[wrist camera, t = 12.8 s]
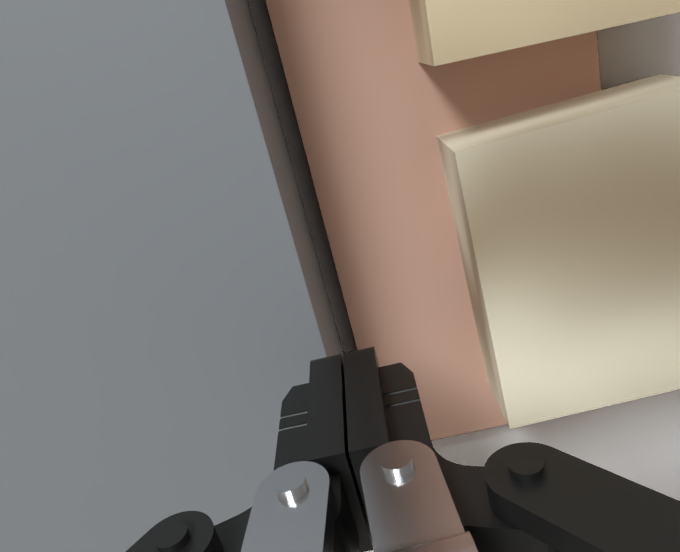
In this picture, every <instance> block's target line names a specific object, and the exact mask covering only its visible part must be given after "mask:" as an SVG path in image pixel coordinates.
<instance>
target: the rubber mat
mask: <svg viewBox="0 0 680 552" xmlns="http://www.w3.org/2000/svg"><path fill="white" fill-rule="evenodd" d="M266 4H267V8H268V12H269V16H270V19H271V23H272V27H273V31H274V35H275V38H276V42H277V46H278V50H279V54H280V57H281V61H282V65H283V69H284V73H285V76H286V80H287V84H288V88H289V92H290V95H291V99H292V103H293V107H294V111H295V114H296V118H297V122H298V126H299V130H300V133H301V137H302V141H303V145H304V149H305V152H306V156H307V160H308V164H309V168H310V171H311V175H312V179H313V183H314V187H315V191H316V194H317V198H318V202H319V206H320V210H321V213H322V217H323V221H324V225H325V229H326V232H327V236H328V240H329V244H330V248H331V251H332V255H333V259H334V263H335V267H336V270H337V274H338V278H339V282H340V286H341V289H342V293H343V297H344V301H345V305H346V308H347V312H348V316H349V320H350V324H351V327H352V331H353V335H354V339H355V343H356V346H357V350H360V349H364V348H369V347H373V346H374V348H375V351H376V355H377V359H378V363H379V367H382V366H387V365H391V364H396V363H400V362H401V363H402V364H404V365H405V366H406V367H407V368H408V369H410V370H411V371H412V372H413V374H414V377H415V381H416V385H417V389H418V393H419V397H420V401H421V404H422V408H423V412H424V416H425V420H426V424H427V427H428V431H429V435H430V439H431V440H436V439H441V438H446V437H450V436H455V435H460V434H465V433H469V432H474V431H479V430H484V429H488V428H493V427H498V426H502V425H507V422H506V420H505V417H504V415H503V413H502V411H501V409H500V407H499V405H498V403H497V400H496V398H495V396H494V394H493V392H492V390H491V388H490V386H489V383H488V381H487V376H486V372H485V367H484V362H483V357H482V353H481V348H480V343H479V338H478V334H477V329H476V324H475V319H474V314H473V310H472V305H471V300H470V295H469V291H468V286H467V281H466V276H465V272H464V267H463V262H462V257H461V252H460V248H459V243H458V238H457V233H456V229H455V224H454V219H453V214H452V210H451V205H450V200H449V195H448V190H447V186H446V181H445V176H444V171H443V167H442V162H441V157H440V152H439V147H438V143H437V138H436V136H438V135H442V134H446V133H449V132H453V131H456V130H460V129H464V128H467V127H471V126H474V125H478V124H482V123H485V122H489V121H492V120H496V119H500V118H503V117H507V116H510V115H514V114H518V113H521V112H525V111H528V110H532V109H536V108H539V107H543V106H546V105H550V104H554V103H557V102H561V101H564V100H568V99H572V98H575V97H579V96H582V95H586V94H590V93H593V92H597V91H600V90H601V82H600V69H599V55H598V42H597V31H593V32H588V33H584V34H579V35H574V36H570V37H565V38H561V39H556V40H552V41H547V42H543V43H538V44H533V45H529V46H524V47H520V48H515V49H511V50H506V51H502V52H497V53H493V54H488V55H483V56H479V57H474V58H470V59H465V60H461V61H456V62H452V63H447V64H442V65H438V66H431V65H427V64H423V63H419V62H418V58H417V52H416V45H415V38H414V32H413V25H412V18H411V12H410V5H409V0H266Z"/></svg>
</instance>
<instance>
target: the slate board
mask: <svg viewBox="0 0 680 552" xmlns="http://www.w3.org/2000/svg"><path fill="white" fill-rule="evenodd" d="M338 354H342V356H343V354H344V353H343V350H342V346H341V342H340V339H339V335H338V331H337V328H336V324H335V320H334V317H333V313H332V310H331V306H330V302H329V299H328V295H327V291H326V288H325V284H324V280H323V277H322V273H321V269H320V266H319V262H318V258H317V255H316V251H315V247H314V244H313V240H312V236H311V233H310V229H309V225H308V222H307V218H306V215H305V211H304V207H303V204H302V200H301V196H300V193H299V189H298V185H297V182H296V178H295V174H294V171H293V167H292V163H291V160H290V156H289V152H288V149H287V145H286V141H285V138H284V134H283V130H282V127H281V123H280V120H279V116H278V112H277V109H276V105H275V101H274V98H273V94H272V90H271V87H270V83H269V79H268V76H267V72H266V68H265V65H264V61H263V57H262V54H261V50H260V46H259V43H258V39H257V35H256V32H255V28H254V25H253V21H252V17H251V14H250V10H249V6H248V3H247V0H0V552H126V551H127V550H128V549H129V548H130V547H131V546H132V545H133V544H134V543H136V542H137V541H138V540H139V539H140V538H141V537H142V536H143V535H144V534H145V533H147V532H148V531H149V530H150V529H151V528H152V527H153V526H155V525H156V524H157V523H159V522H160V521H162V520H163V519H165V518H167V517H169V516H171V515H174V514H177V513H180V512H184V511H200V512H203V513H205V514H207V515H208V516H209V517H210V518H211V520H212V522H213V524H214V526H215V525H217V524H219V523H222V522H224V521H226V520H228V519H230V518H232V517H234V516H237V515H239V514H241V513H242V512H244V511H246V510H247V509H249V508H251V507H252V505H253V501H254V497H255V493H256V490H257V488H258V486H259V485H260V483H261V482H262V481H263V479H264V478H265V477H266V476H267V475H269V474H270V473H271V472H273V471H274V463H275V455H276V447H277V438H278V432H279V422H280V419H281V417H280V414H281V406H282V401H283V399H284V398H285V396H286V395H287V394H288V392H289V391H290V389H291V388H292V386H297V385H301V384H306V383H309V376H310V361H311V360H316V359H320V358H325V357H329V356H334V355H338ZM343 359H344V358H343Z"/></svg>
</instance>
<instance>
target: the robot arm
mask: <svg viewBox="0 0 680 552" xmlns="http://www.w3.org/2000/svg"><path fill="white" fill-rule="evenodd" d="M343 358H344V359H343ZM280 417H281V419H280V422H279V432H278V438H277V447H276V455H275V463H274V471H273V472H271V473H270V474H269V475H267V476H266V477H265V478H264V479H263V481H262V482H261V483H260V485H259V486H258V488H257V490H256V493H255V497H254V501H253V505H252V507H251V508H249V509H247V510H246V511H244V512H242V513H241V514H239V515H237V516H234V517H232V518H230V519H228V520H226V521H224V522H222V523H219V524H217V525H215V526H214V524H213V522H212V520H211V518H210V517H209V516H208V515H207V514H205V513H203V512H200V511H184V512H180V513H177V514H174V515H171V516H169V517H167V518H165V519H163V520H162V521H160V522H159V523H157V524H156V525H155V526H153V527H152V528H151V529H150V530H149V531H148V532H147V533H145V534H144V535H143V536H142V537H141V538H140V539H139V540H138V541H137V542H136V543H134V544H133V545H132V546H131V547H130V548H129V549H128V550H127V551H126V552H364V551H369V550H373V547H374V552H680V501H678V500H675V499H673V498H671V497H668V496H666V495H664V494H661V493H659V492H656V491H654V490H652V489H649V488H647V487H645V486H642V485H640V484H637V483H635V482H633V481H630V480H628V479H626V478H623V477H621V476H619V475H616V474H614V473H611V472H609V471H607V470H604V469H602V468H600V467H597V466H595V465H592V464H590V463H588V462H585V461H583V460H581V459H578V458H576V457H574V456H571V455H569V454H566V453H564V452H562V451H559V450H557V449H555V448H552V447H550V446H547V445H543V444H539V443H530V442H528V443H516V444H512V445H508V446H505V447H503V448H501V449H499V450H497V451H496V452H495V453H493V454H492V455H491V456H490V457H489V459H488V460H487V462H486V464H485V467H478V466H464V465H459V464H455V463H452V462H450V461H448V460H446V459H444V458H443V457H441V456H440V455H439V454H438V453H437V452H436V451H435V449H434V448H433V446H432V443H431V439H430V435H429V431H428V427H427V424H426V420H425V416H424V412H423V408H422V404H421V401H420V397H419V393H418V389H417V385H416V381H415V377H414V374H413V372H412V371H411V370H410V369H408V368H407V367H406V366H405V365H404V364H402V363H401V362H400V363H396V364H391V365H387V366H382V367H379V363H378V359H377V355H376V351H375V348H374V346H373V347H369V348H364V349H360V350H356V351H351V352H347V353H344V354H343V356H342V354H338V355H334V356H329V357H325V358H320V359H316V360H311V361H310V376H309V383H306V384H301V385H297V386H292V388H291V389H290V391H289V392H288V394H287V395H286V396H285V398H284V399H283V401H282V406H281V414H280ZM372 541H373V542H372Z"/></svg>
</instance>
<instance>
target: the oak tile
mask: <svg viewBox="0 0 680 552" xmlns="http://www.w3.org/2000/svg"><path fill="white" fill-rule="evenodd" d="M409 5H410V12H411V18H412V25H413V32H414V38H415V45H416V52H417V58H418V62H419V63H423V64H427V65H431V66H438V65H442V64H447V63H452V62H456V61H461V60H465V59H470V58H474V57H479V56H483V55H488V54H493V53H497V52H502V51H506V50H511V49H515V48H520V47H524V46H529V45H533V44H538V43H543V42H547V41H552V40H556V39H561V38H565V37H570V36H574V35H579V34H584V33H588V32H593V31H597V30H602V29H606V28H611V27H615V26H620V25H624V24H629V23H634V22H638V21H643V20H647V19H652V18H656V17H661V16H665V15H670V14H674V13H679V12H680V0H409Z"/></svg>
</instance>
